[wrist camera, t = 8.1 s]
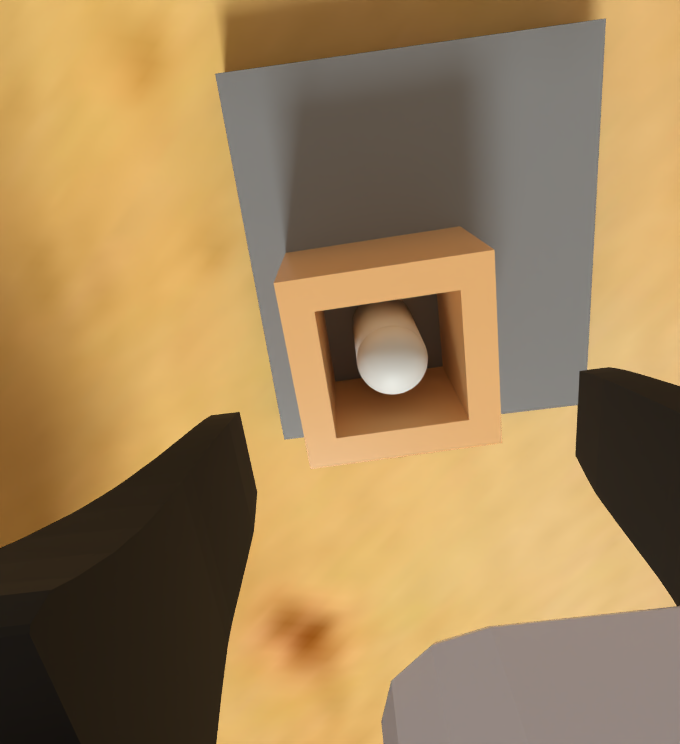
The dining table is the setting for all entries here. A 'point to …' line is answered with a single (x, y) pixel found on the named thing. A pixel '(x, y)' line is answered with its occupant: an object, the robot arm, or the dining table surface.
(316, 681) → the dining table surface
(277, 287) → the orange loop
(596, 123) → the hook board
